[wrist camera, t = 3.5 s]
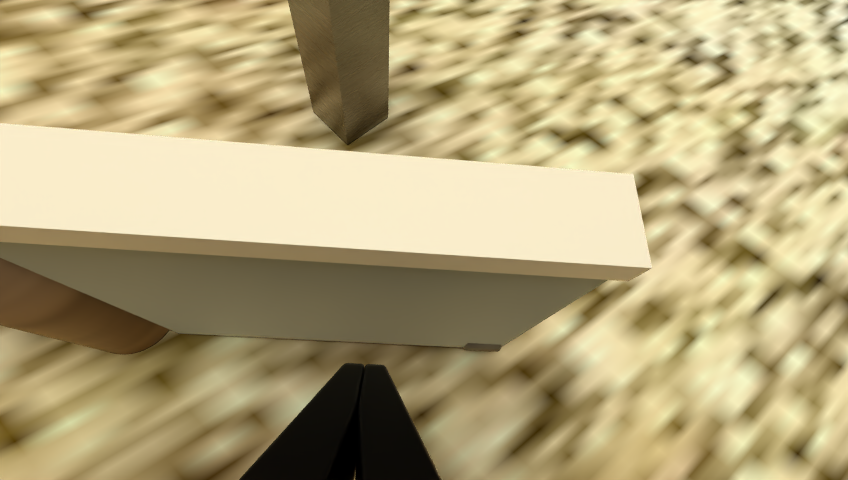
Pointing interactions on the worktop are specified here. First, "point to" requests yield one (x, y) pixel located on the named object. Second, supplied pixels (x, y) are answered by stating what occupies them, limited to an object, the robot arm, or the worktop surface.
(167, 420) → the worktop surface
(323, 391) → the robot arm
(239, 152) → the cream flat slab
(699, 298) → the worktop surface
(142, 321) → the fence
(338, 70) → the stile
